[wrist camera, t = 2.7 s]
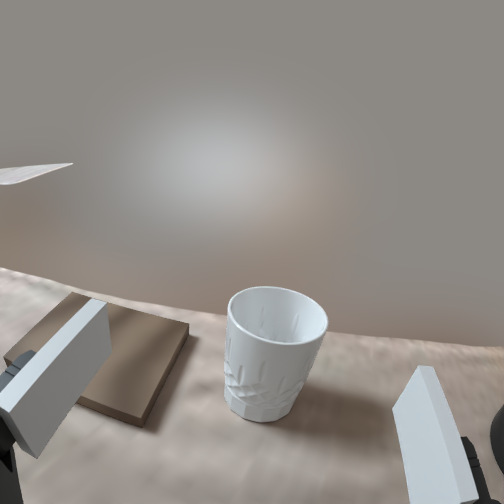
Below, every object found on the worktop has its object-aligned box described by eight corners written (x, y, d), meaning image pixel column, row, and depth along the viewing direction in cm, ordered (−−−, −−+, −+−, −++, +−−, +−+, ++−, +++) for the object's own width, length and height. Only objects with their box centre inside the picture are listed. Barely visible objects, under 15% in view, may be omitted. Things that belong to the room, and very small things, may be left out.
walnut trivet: (188, 334, 36) (189, 323, 35) (142, 427, 23) (140, 417, 22) (73, 301, 37) (72, 291, 36) (7, 367, 24) (3, 356, 24)
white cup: (206, 414, 26) (214, 327, 22) (230, 360, 33) (242, 278, 29) (293, 436, 25) (326, 354, 21) (303, 378, 32) (329, 298, 28)
